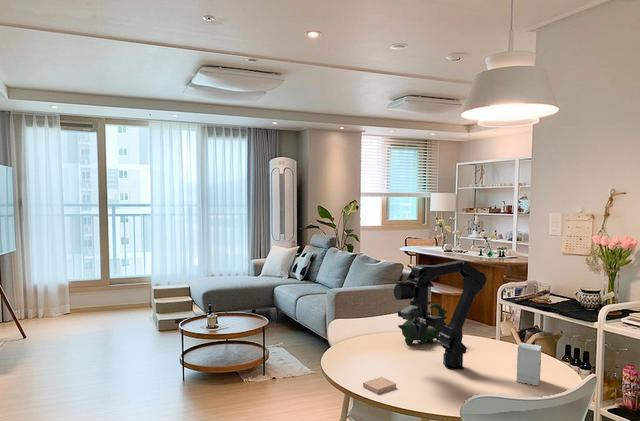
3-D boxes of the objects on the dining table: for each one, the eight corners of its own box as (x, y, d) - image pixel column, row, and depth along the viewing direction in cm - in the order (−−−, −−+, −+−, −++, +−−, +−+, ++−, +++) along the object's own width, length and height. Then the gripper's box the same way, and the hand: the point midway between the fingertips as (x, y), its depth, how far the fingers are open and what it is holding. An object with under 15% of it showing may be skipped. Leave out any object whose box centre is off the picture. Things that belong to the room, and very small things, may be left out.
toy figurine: (435, 341, 218) (390, 341, 209) (439, 301, 219) (394, 300, 209) (448, 347, 210) (401, 347, 200) (452, 305, 210) (406, 304, 200)
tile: (381, 376, 163) (363, 382, 158) (396, 383, 158) (377, 389, 152) (381, 382, 163) (362, 388, 158) (396, 389, 158) (377, 395, 152)
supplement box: (538, 386, 161) (539, 351, 161) (515, 381, 165) (516, 347, 165) (540, 380, 168) (541, 345, 167) (519, 375, 172) (520, 342, 171)
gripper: (388, 296, 177) (387, 336, 177) (424, 305, 161) (423, 349, 162) (408, 293, 183) (407, 332, 183) (445, 302, 168) (444, 344, 168)
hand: (419, 339), depth 174 cm, fingers closed
